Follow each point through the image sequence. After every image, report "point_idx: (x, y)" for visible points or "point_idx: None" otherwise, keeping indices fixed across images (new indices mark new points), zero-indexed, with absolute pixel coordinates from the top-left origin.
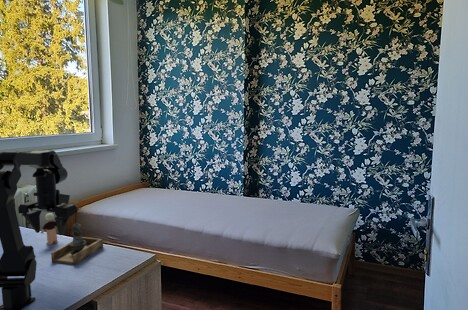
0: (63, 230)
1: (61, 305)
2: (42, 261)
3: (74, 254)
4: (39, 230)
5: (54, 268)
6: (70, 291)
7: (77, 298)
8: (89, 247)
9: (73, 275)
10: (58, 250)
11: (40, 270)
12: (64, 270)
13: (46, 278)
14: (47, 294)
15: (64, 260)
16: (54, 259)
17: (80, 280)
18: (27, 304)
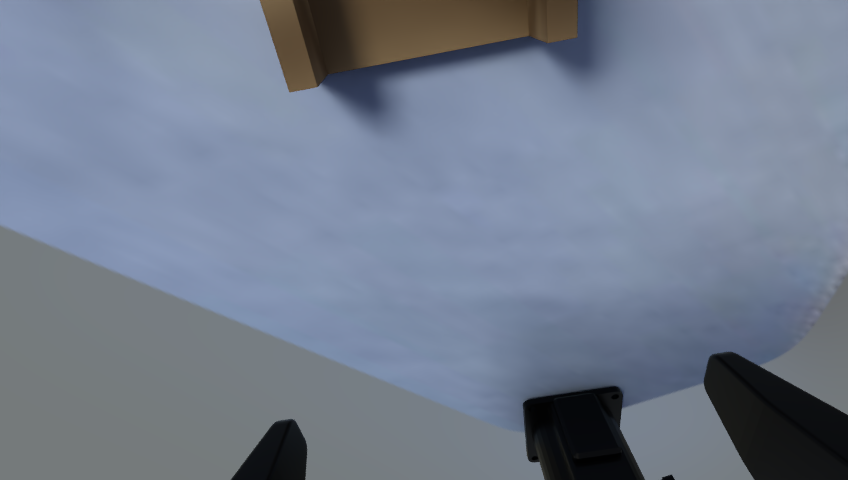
0: (801, 403)
1: None
2: (230, 101)
3: (552, 19)
4: (288, 440)
5: (433, 146)
6: (733, 289)
7: (802, 313)
8: None
9: (642, 164)
10: (295, 7)
11: (371, 206)
12: (528, 138)
13: (502, 256)
14: (635, 343)
15: (431, 46)
16: (330, 71)
17: (727, 192)
18: (619, 417)
